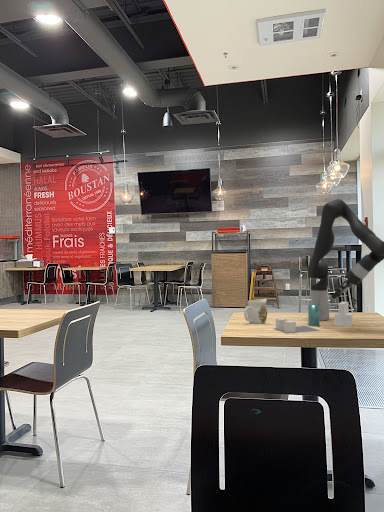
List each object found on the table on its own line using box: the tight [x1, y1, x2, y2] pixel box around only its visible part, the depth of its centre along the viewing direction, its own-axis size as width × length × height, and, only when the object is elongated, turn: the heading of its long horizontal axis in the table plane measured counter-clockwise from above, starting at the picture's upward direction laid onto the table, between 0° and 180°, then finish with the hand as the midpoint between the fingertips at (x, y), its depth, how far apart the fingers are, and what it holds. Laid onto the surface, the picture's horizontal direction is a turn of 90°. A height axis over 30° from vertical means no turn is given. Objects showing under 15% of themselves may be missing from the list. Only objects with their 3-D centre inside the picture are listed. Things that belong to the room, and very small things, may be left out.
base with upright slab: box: [334, 301, 353, 327], centre depth 230 cm, size 9×9×12 cm
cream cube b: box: [275, 317, 288, 331], centre depth 213 cm, size 4×4×5 cm
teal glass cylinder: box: [307, 303, 321, 328], centre depth 222 cm, size 6×6×12 cm
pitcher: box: [243, 298, 268, 325], centre depth 233 cm, size 11×18×14 cm, turn 131°
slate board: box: [272, 325, 321, 335], centre depth 211 cm, size 19×14×2 cm
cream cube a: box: [284, 320, 297, 334], centre depth 205 cm, size 4×4×5 cm
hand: (334, 296), depth 216 cm, fingers open, 8 cm apart
